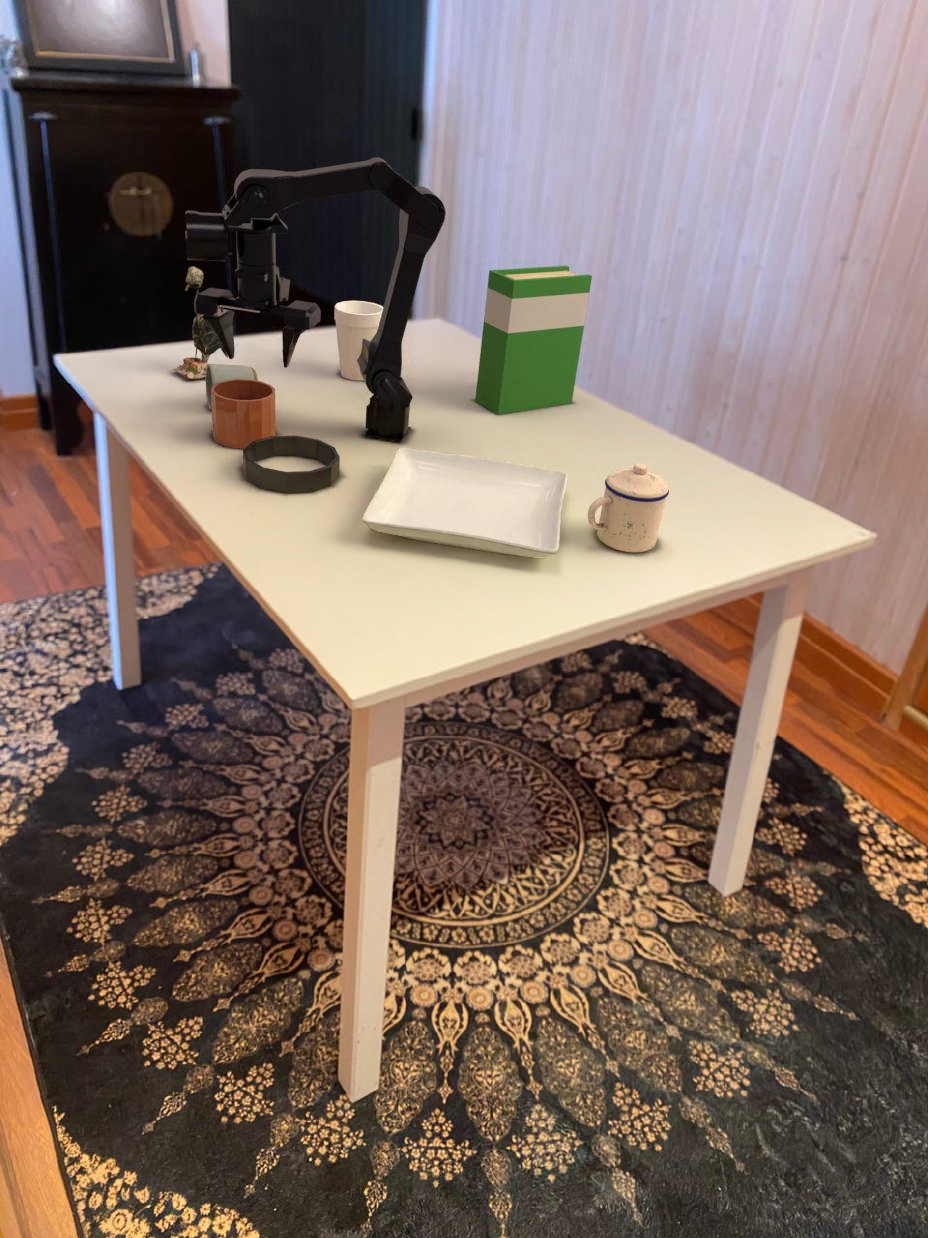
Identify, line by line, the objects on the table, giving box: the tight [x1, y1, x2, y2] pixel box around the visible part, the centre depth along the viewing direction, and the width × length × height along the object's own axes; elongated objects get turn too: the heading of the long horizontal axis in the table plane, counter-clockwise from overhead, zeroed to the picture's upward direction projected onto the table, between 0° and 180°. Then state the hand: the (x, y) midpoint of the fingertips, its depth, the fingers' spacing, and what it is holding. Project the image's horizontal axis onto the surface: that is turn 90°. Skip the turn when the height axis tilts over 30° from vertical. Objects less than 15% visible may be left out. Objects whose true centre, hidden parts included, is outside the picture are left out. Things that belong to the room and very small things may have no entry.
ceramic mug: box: [205, 363, 259, 411], centre depth 175 cm, size 11×8×8 cm
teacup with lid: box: [587, 463, 670, 553], centre depth 144 cm, size 12×9×12 cm
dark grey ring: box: [242, 434, 341, 494], centre depth 155 cm, size 14×14×3 cm
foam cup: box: [333, 300, 384, 382], centre depth 193 cm, size 10×9×13 cm
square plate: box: [361, 447, 569, 559], centre depth 148 cm, size 27×27×4 cm
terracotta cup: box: [211, 379, 276, 450], centre depth 163 cm, size 10×10×8 cm
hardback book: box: [474, 265, 593, 415], centre depth 186 cm, size 18×7×24 cm, turn 124°
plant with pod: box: [172, 266, 229, 380], centre depth 184 cm, size 8×11×20 cm
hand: (259, 362), depth 161 cm, fingers open, 9 cm apart
